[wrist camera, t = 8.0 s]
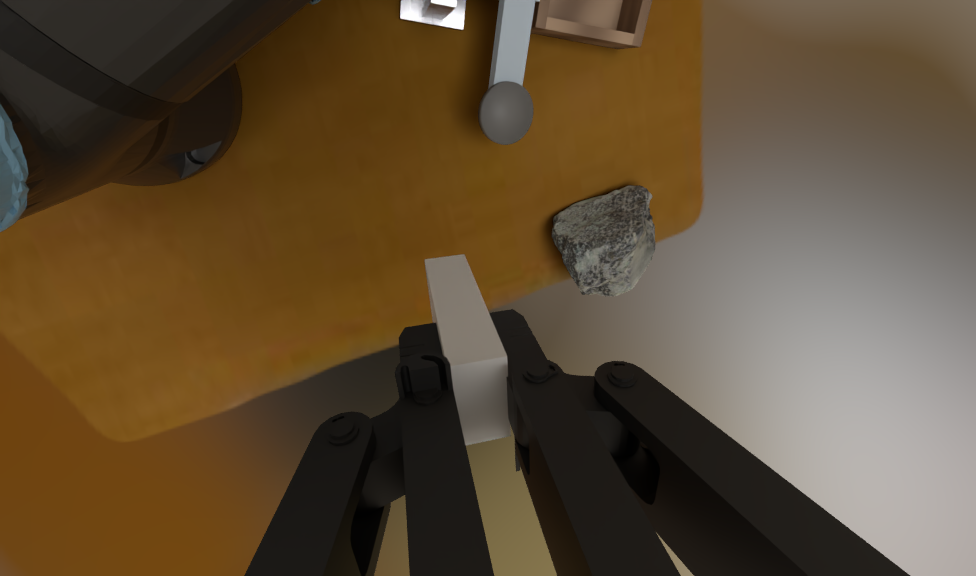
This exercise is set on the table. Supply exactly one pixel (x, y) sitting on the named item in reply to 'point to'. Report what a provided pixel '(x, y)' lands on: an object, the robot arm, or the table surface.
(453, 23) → the pivot stand
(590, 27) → the tray
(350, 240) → the table surface
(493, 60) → the seesaw
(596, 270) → the stone
